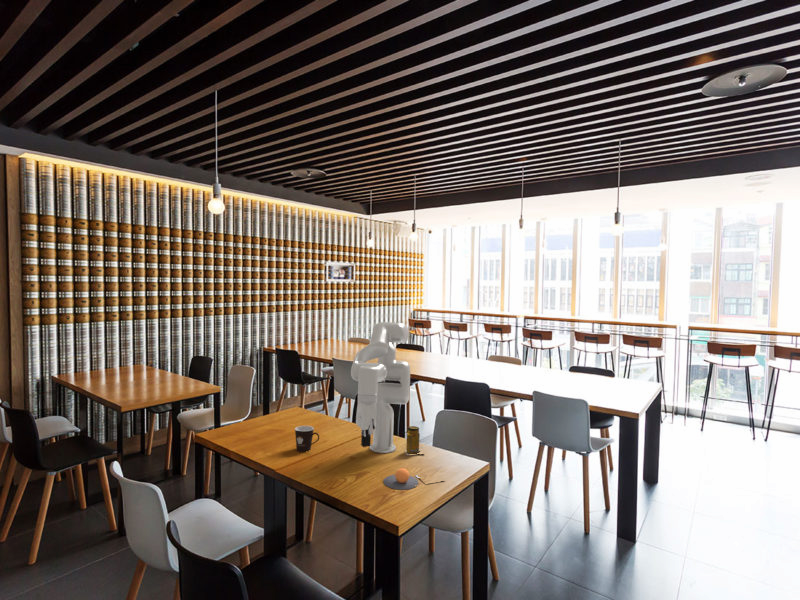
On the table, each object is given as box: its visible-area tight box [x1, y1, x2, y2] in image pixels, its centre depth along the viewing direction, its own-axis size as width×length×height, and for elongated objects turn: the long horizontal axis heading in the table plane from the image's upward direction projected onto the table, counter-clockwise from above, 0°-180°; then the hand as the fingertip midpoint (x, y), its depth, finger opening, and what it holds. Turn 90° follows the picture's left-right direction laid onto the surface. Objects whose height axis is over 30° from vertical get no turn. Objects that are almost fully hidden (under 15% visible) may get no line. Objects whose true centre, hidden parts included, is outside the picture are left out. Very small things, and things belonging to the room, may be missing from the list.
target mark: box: [383, 474, 420, 491], centre depth 170 cm, size 14×14×1 cm
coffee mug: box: [294, 425, 320, 453], centre depth 202 cm, size 12×9×10 cm
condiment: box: [404, 425, 420, 456], centre depth 204 cm, size 7×8×12 cm
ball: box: [394, 467, 410, 483], centre depth 170 cm, size 6×6×6 cm
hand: (365, 445), depth 167 cm, fingers closed
